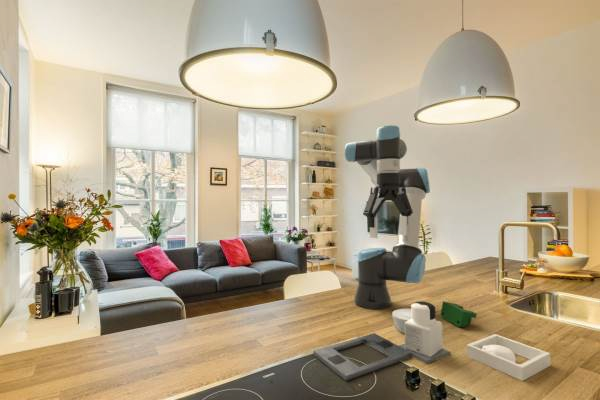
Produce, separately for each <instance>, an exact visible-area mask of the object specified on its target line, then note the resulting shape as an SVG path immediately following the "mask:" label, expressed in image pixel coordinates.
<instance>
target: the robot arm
mask: <svg viewBox="0 0 600 400" xmlns="http://www.w3.org/2000/svg"><path fill="white" fill-rule="evenodd" d="M407 150H408V148H407V144H406V143H405V141H404V140H403V139H401V133H400V126H397V125H393V124H391V125H383V126H379V127H378V128H377V129H376V137H375V139H373V140H372V139H370V140H369V139H368V140H361V141H360V140H359V141H353V142H348V143H346V144H345V146H344V157H345V160H346V161H347V162H350V163H351V162H352V163H355V162H356V163H357V164H358V165H359V166H360V167H361V169H363V171H364V172H365V173H366V174H367V175H368V176H369V177H370V180H371V183H372V184H373V185H374V186H372V187H370V191H369V192H370V194H369V196H368V199H367V202H366V205H365V207H364V210H363V213H362V215H363V216H365V217H366V218H368V228H369V238H372V239H378V238H379V237H378V217H376V216H377V214H378V213H379V212H380V209H381V208H382V206H383V205H384V203H385V202H387V201H389V202H390V201H391V202H392V203H393V204H394V206H395V207H396V209H397V210H398V212H399V213H400V214H399V222H398V229H397V243H396V244H395V245H394V246H392V251H387V248H385V247H371V248H370V247H369V248H364V249H361V250H360V251H359V252H358V254H357V255H358V258H357V263H358V264H357V268H358V269H357V271H358V272H357V274H358V278H357V279H358V284H357V288H356V293H355V294H354V304H355V305H357V306H359V307H361V308H365V309H366V308H367V309H374V310H375V309H386V308H388V307H390V306H391V304H392V299H391V296H390V293H389V290H388V286H387V281H390V282H391V281H392V282H400V283H407V284H419V283H420V282H421V281H422V280H423V278H424V274H425V271H426V270H425V269H426V261H427V260H426V255H425V254H423V251H422V249H421V248H420V247H419V242H420V241H419V240H420V230H421V216H422V215H421V214H422V205H423V203H422V202H423V200H424V199H425V198H426V195H427V194H429V193H430V191H431V189H430V180H429V173H428V170H427V169H426V168H425V167H424V168H423V167H416V168H401V159H402V158H404V157H405V156H406V154H407V152H408V151H407Z"/></svg>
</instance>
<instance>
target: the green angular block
mask: <svg viewBox="0 0 600 400" xmlns="http://www.w3.org/2000/svg"><path fill="white" fill-rule="evenodd" d="M440 316H441V318H443V319H444V320H445V321H448V322H449V323H451V324H452V325H454V326H455V327H458V328H463V329H464V328H465V327H466V326H467V325H470V326H471V323H472V318H473V319H477V316H478V314H477V313H476V312H474V311H472V310H467V309H465V308H464V306H462V305H459V304H456V303H453V302H448V301H442V305H441V310H440Z"/></svg>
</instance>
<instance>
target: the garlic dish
mask: <svg viewBox="0 0 600 400" xmlns="http://www.w3.org/2000/svg"><path fill="white" fill-rule="evenodd" d="M484 345H485V346H487V345H500V346H504V347H507V348H509V349H511V350H512V351H513V353H514V354H515V355H518V356H520V357H523V358H526V359H528V360H526V361H525V362H523V363H520V364H519V363H517V362H515V363H514V362H512V361H510V360H507V359H505V358H502V357H500V356H497V355H495V354H492V353H490V352H488V351H485V350H483V349H482V347H483V346H484ZM466 357H467V358H470V359H472V360H475V361H477V362H478V363H481V364H483V363H484V364H483V365H485V364H486V365H485V366H488V367H490V368H492V369H495V370H497V371H499V372H501V373H504V374H505V375H509V376H510V377H512V378H515V379H517V380H519V381H522V382H523V381H525V380H527V379H529V378H531V377H532V376H534V375H536V374H538V373H540V372H541V371H543V370H545V369H547V368H548V367H551V353H550V352H549V351H548V352H547V351H545V350H542V349H539V348H537V347H533V346H531V345H528V344H525V343H521V342H520V341H516V340H514V339H510V338H508V337H505V336H502V335H499V334H497V333H494V334H491V335H489V336H485V337H483V338H480V339H478V340H476V341H473V342H470V343H468V344H466Z"/></svg>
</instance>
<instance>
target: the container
mask: <svg viewBox="0 0 600 400" xmlns="http://www.w3.org/2000/svg"><path fill="white" fill-rule="evenodd" d="M410 309H411V318H412V319H410V320H408V321H406V322H405V333H404V344H405V348H406V349H409V350H412V351H414V352H417V353H420V354H423V355H425V356H428V357H431V356H433V355H434V354H435V353H437V352H438V351H439V350H441V349H442V348H443V323H442V321H439V320H436V318H437V317H436V306H435V305H434V304H433V303H430V302H428V301H423V300H422V301H421V300H420V301H419V300H418V301H414V302H412V303H411V304H410Z"/></svg>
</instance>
